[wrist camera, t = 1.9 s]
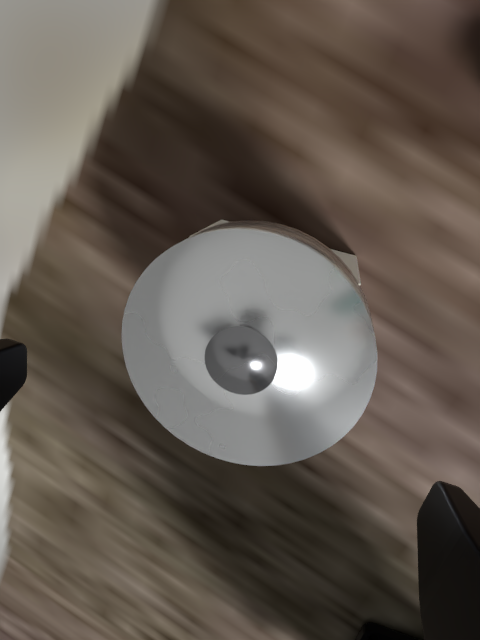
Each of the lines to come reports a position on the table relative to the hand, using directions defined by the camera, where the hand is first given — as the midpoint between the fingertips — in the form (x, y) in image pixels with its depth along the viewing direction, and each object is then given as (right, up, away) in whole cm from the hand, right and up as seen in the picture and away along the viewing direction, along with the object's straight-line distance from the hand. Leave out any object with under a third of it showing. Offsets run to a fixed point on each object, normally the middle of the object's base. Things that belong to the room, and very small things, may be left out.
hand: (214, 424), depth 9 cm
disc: (+1, +2, +4) cm, 4 cm away
